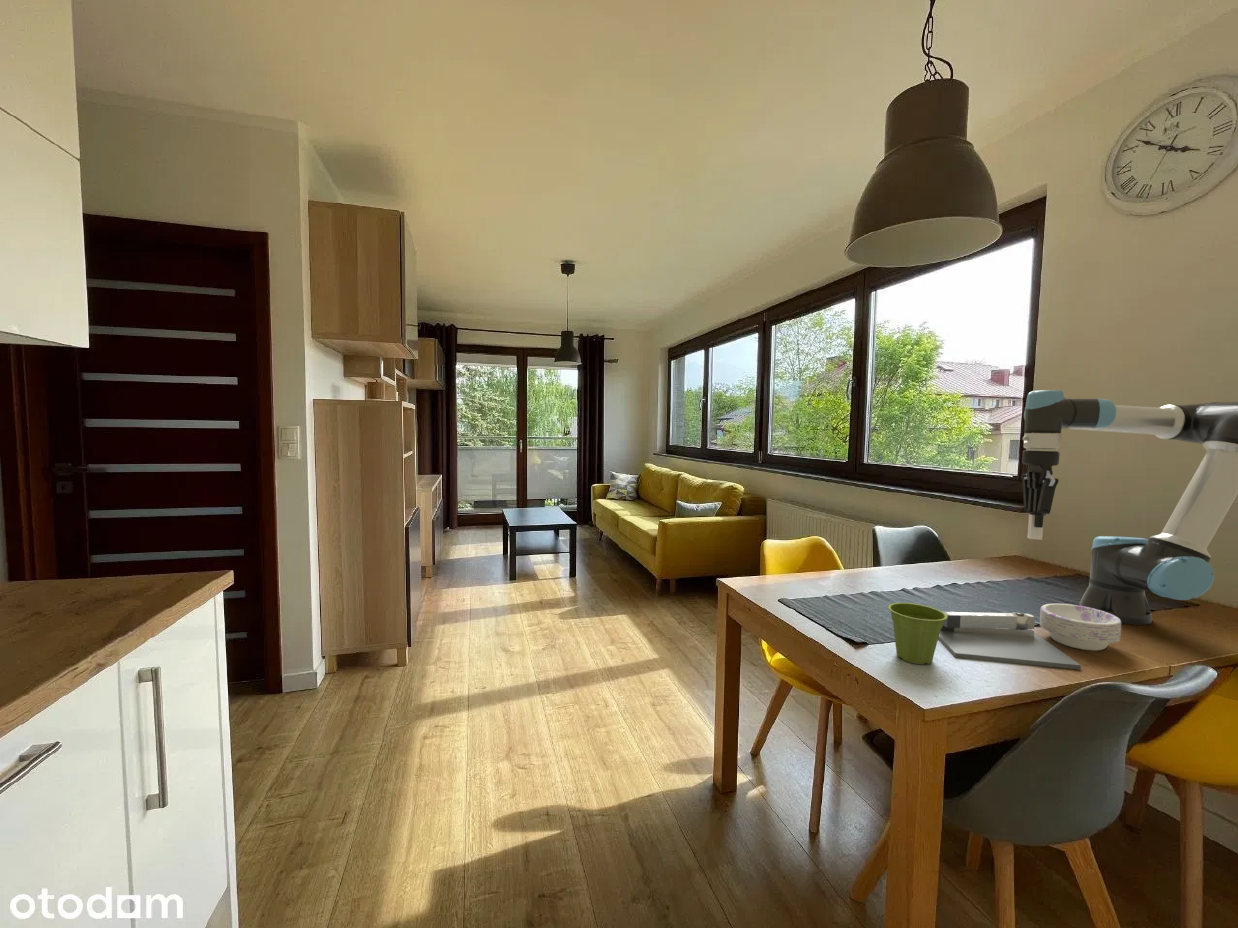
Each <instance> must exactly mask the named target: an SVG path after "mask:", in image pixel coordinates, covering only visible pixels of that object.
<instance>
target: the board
mask: <svg viewBox="0 0 1238 928" xmlns="http://www.w3.org/2000/svg"><path fill="white" fill-rule="evenodd" d="M938 641H940V643H941V644H942V645H943V646H944V647H945V648H946V649H947V650H948V651H949V652H950V653H951V655H953V657H955V658H960V659H969V660H970V659H971V660H981V661H992V662H999V663H1000V662H1001V663H1010V664H1020V665H1029V666H1030V665H1031V666H1039V667H1050V668H1062V669H1070V670H1081V668H1082V665H1081V664H1080V663H1078V662H1077V661H1075V660H1074V659H1073V658H1071V657H1070V656H1068V655H1067V654H1065V653H1064V652H1062V651H1061V650H1060V649H1058V648H1057V647H1055V646H1054V645H1052V644H1051V643H1049V642H1048V641H1047V640H1045V639H1044V638H1043V637H1041V636H1040V635H1038V634H1037V633H1036V632H1034V637H1033V636H1018V635H1004V634H989V633H974V632H960V631H954V632H952V631H940V634H939V637H938Z"/></svg>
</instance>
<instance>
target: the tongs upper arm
mask: <svg viewBox="0 0 1238 928" xmlns="http://www.w3.org/2000/svg"><path fill="white" fill-rule="evenodd" d="M941 611H942V612H943V613H945V614H946V615H947V619H946V620H944V623H943V626H945V627H947V628H960V627H962V628H1008V629H1020V630H1027V629H1032V630H1034V629H1035V622H1036V621H1035V620H1036V619H1035V618H1036V617H1035V616H1034V615H1032V614H1030V613H1023V612H1018V611H1015V612H1014V611H1013V612H1010V613H1009V612H1007V613H1006V612H967V611H965V612H964V611H963V612H962V611H945V610H944V611H943V610H941Z"/></svg>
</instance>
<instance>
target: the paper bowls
mask: <svg viewBox="0 0 1238 928" xmlns="http://www.w3.org/2000/svg"><path fill="white" fill-rule="evenodd" d="M1039 615H1040V616H1039V626H1040V627H1041V628H1042V629H1044V630H1045V631H1047V632H1048V634H1049V636H1050V637H1051V639H1052V640H1054V641H1056V642H1057V643H1059V644H1062V645H1064V646H1067V647H1070V648H1074V649H1079V650H1084V651H1093V652H1094V651H1102V650H1104V649H1106V648H1107V647H1108V646H1109V644H1115V643H1118V642H1120V640H1121V635H1122V634H1121V633H1122V623H1121V620H1120V619H1119V618H1118V617H1116V616H1114V615H1112V614H1110V613H1107V612H1104V611H1101V610H1097V609H1093V608H1089V607H1084V606H1080V605H1077V604H1070V603H1046V604H1043V605H1041V607H1040V611H1039Z"/></svg>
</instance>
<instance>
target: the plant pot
mask: <svg viewBox="0 0 1238 928" xmlns="http://www.w3.org/2000/svg"><path fill="white" fill-rule="evenodd" d="M888 610H889V611H890V615H891V620H892V625H893V634H894V642H895V651H896V656H897V657H898V658H902V660H903V661H905V662H907V663H912V664H915V665H924V664H929V665H930V664H931V663H932V662H933V660H934V656H935V651H936V648H937V644H938V641H939V639H938V637H939V634H940V630H941V629H942V626H943V623H944V620H946V619H947V615H946V614H945V613H943V612H942V611H943V610H939V609H937V608H934V607H932V606H927V605H923V604H918V603H910V602H895V603H891V604H889V605H888Z"/></svg>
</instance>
